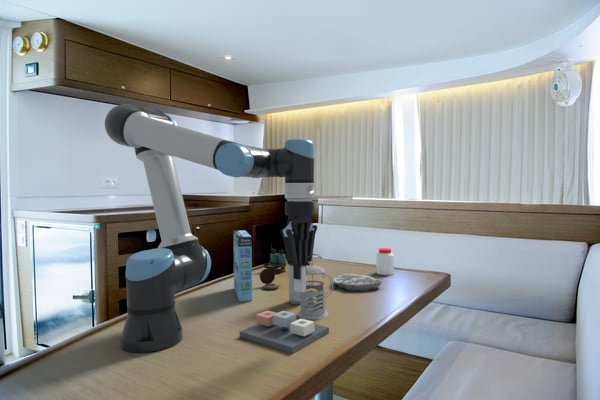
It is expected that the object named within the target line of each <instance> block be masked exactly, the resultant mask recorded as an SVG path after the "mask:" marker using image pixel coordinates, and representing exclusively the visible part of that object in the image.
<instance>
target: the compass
mask: <svg viewBox="0 0 600 400" xmlns="http://www.w3.org/2000/svg"><path fill="white" fill-rule="evenodd" d="M275 277H276V276H275V273H274V270H273V271H272V270H271V269H267V268H264V269H263V270H262V271H261V272H260V274H259V280H260V282H261V283H263V284H264V285H262V290H263V291H275V290H277V289H279V287H280V284H276V283H273V282H274V281H275Z"/></svg>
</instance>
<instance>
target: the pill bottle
mask: <svg viewBox="0 0 600 400" xmlns="http://www.w3.org/2000/svg"><path fill="white" fill-rule="evenodd" d="M375 257H376V261H375V263H376V269H375V270H376V274H377V275H383V276H391V275H394V274H395V261H394V260H395V254H394V253H393V252H392V249H391V248H389V247H379V248H378V252H377V253H376V256H375Z"/></svg>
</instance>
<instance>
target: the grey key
mask: <svg viewBox="0 0 600 400" xmlns="http://www.w3.org/2000/svg"><path fill="white" fill-rule="evenodd" d="M275 313H276V314H274V315H273V324H275V325H279V326H282V330H287V326H290V323H292V322H294V321H296V319H297V313H296V312H291V311H286V310H282V311H279V312H275Z"/></svg>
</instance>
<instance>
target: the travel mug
mask: <svg viewBox="0 0 600 400" xmlns="http://www.w3.org/2000/svg"><path fill="white" fill-rule="evenodd" d="M287 265H288V264H287ZM307 276H308V275H306V281H308V277H307ZM306 291H308V289H307V290H306ZM305 300H307V298H306V299H305ZM288 302H289V303H290V304H292V305H301V300H300V292H298V291H294V277H293V266H290V265H288Z"/></svg>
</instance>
